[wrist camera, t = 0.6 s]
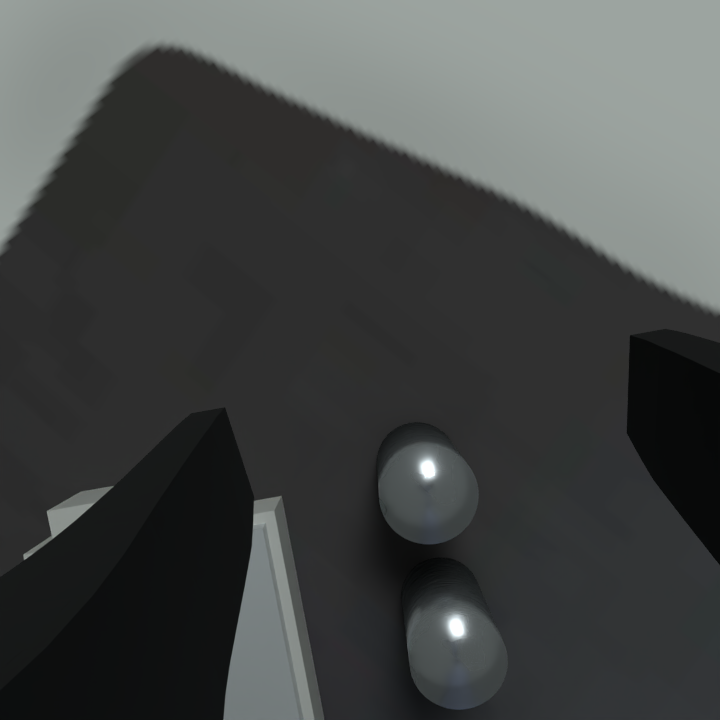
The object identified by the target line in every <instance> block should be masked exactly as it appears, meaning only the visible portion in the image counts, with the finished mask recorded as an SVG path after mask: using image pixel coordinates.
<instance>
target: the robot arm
mask: <svg viewBox="0 0 720 720" xmlns="http://www.w3.org/2000/svg"><path fill="white" fill-rule="evenodd" d="M627 434H628V436H629V438H630V440H631V441H632V443H633V445H634V447H635V449H636V451H637V452H638V454H639V456H640V458H641V460H642V461H643V463H644V465H645V466H646V468H647V470H648V472H649V473H650V475H651V477H652V478H653V480H654V481H655V482H656V484H657V485H658V486H659V488H660V489H661V490H662V492H663V493H664V494H665V496H666V497H667V498H668V499H669V501H670V502H671V503H672V505H673V506H674V507H675V509H676V510H677V511H678V512H679V514H680V515H681V516H682V518H683V519H684V520H685V521H686V523H687V524H688V525H689V526H690V528H691V529H692V530H693V532H694V533H695V534H696V535H697V537H698V538H699V539H700V540H701V542H702V543H703V544H704V546H705V547H706V548H707V549H708V551H709V552H710V553H711V554H712V556H713V557H714V558H715V560H716V561H717V562H718V563H719V565H720V343H718V342H714V341H711V340H708V339H704V338H701V337H697V336H694V335H690V334H686V333H682V332H678V331H673V330H668V329H663V330H657V331H652V332H646V333H641V334H635V335H630V353H629V383H628V413H627ZM253 515H254V495H253V492H252V489H251V486H250V483H249V480H248V477H247V474H246V471H245V468H244V465H243V462H242V458H241V455H240V452H239V449H238V446H237V443H236V440H235V437H234V434H233V431H232V428H231V425H230V422H229V418H228V415H227V412H226V409H225V408H219V409H214V410H208V411H202V412H197V413H192V414H190V415H189V416H188V417H187V418H185V419H184V420H183V421H182V422H181V423H180V424H178V425H177V426H176V427H175V428H174V429H173V430H172V431H171V432H170V433H169V434H168V435H167V436H166V437H165V438H164V439H163V440H162V441H161V442H160V443H159V444H158V445H157V446H156V447H155V448H154V449H153V450H152V451H151V452H149V453H148V454H147V455H146V456H145V457H144V458H143V459H142V460H141V461H140V462H139V463H138V464H137V465H136V466H135V467H134V468H133V469H132V470H131V471H130V472H129V473H128V474H127V475H126V476H125V477H124V478H123V479H121V480H120V481H119V482H118V483H117V484H116V485H115V486H114V487H113V488H111V489H110V490H109V491H108V492H107V493H106V494H105V495H104V496H102V497H101V498H100V499H99V500H98V501H97V502H96V503H95V504H93V505H92V506H91V507H90V508H89V509H88V510H87V511H86V512H84V513H83V514H82V515H81V516H80V517H79V518H78V519H77V520H75V521H74V522H73V523H72V524H70V525H69V526H68V527H67V528H66V529H64V530H63V531H62V532H61V533H59V534H58V535H57V536H56V537H54V538H53V539H52V540H51V541H49V542H48V543H47V544H45V545H44V546H43V547H41V548H40V549H39V550H37V551H36V552H35V553H33V554H32V555H31V556H29V557H28V558H27V559H25V560H24V561H23V562H21V563H20V564H19V565H17V566H16V567H14V568H13V569H11V570H10V571H9V572H7V573H6V574H4V575H3V576H1V577H0V720H223V719H224V707H225V695H226V688H227V681H228V674H229V667H230V661H231V656H232V651H233V645H234V640H235V635H236V630H237V624H238V619H239V614H240V609H241V603H242V598H243V593H244V588H245V582H246V577H247V571H248V566H249V560H250V555H251V549H252V536H253Z"/></svg>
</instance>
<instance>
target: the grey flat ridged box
mask: <svg viewBox="0 0 720 720" xmlns="http://www.w3.org/2000/svg"><path fill="white" fill-rule="evenodd" d="M113 487H114V486H111V487H105V488H99V489H94V490H88V491H82V492H79V493H78V494H76V495H74V496H72V497H71V498H69V499H67V500H66V501H64V502H62V503H60V504H59V505H57V506H55V507H53V508H52V509H50V510H48V511H47V515H48V519H49V524H50V529H51V533H52V537H49V538H48V539H46V540H45V541H43V542H42V543H40V544H39V545H37V546H36V547H34V548H33V549H31V550H30V551H28V552H27V553H25V554H24V555H23V556H24V560H25V559H27V558H28V557H29V556H31V555H32V554H33V553H35V552H36V551H37V550H39V549H40V548H41V547H43V546H44V545H45V544H47V543H48V542H49V541H51V540H52V539H53V538H54V537H56V536H57V535H58V534H59V533H61V532H62V531H63V530H64V529H66V528H67V527H68V526H69V525H70V524H72V523H73V522H74V521H75V520H77V519H78V518H79V517H80V516H81V515H82V514H83V513H84V512H86V511H87V510H88V509H89V508H90V507H91V506H92V505H93V504H95V503H96V502H97V501H98V500H99V499H100V498H101V497H102V496H104V495H105V494H106V493H107V492H108V491H109V490H110V489H111V488H113ZM223 720H324V714H323V709H322V704H321V699H320V693H319V688H318V683H317V678H316V673H315V667H314V662H313V657H312V652H311V646H310V641H309V636H308V631H307V626H306V620H305V615H304V610H303V605H302V600H301V594H300V589H299V584H298V579H297V573H296V568H295V563H294V558H293V553H292V547H291V542H290V537H289V532H288V527H287V521H286V516H285V511H284V506H283V500H282V496H279V497H273V498H268V499H262V500H256V501H254V515H253V536H252V549H251V555H250V560H249V566H248V571H247V577H246V582H245V588H244V593H243V598H242V603H241V609H240V614H239V619H238V624H237V630H236V635H235V640H234V645H233V651H232V656H231V661H230V667H229V674H228V681H227V688H226V695H225V707H224V719H223Z"/></svg>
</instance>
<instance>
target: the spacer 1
mask: <svg viewBox="0 0 720 720" xmlns="http://www.w3.org/2000/svg"><path fill="white" fill-rule="evenodd" d="M377 473H378V489H379V502H380V507H381V511H382V513H383V516H384V518H385V519H386V521H387V523H388V524H389V525H390V527H391V528H392V529H393V530H394V531H395V532H396V533H398V534H399V535H400V536H402V537H403V538H405V539H407V540H409V541H412V542H415V543H420V544H438V543H442V542H445V541H448V540H450V539H452V538H454V537H456V536H457V535H459V534H460V533H461V532H462V531H463V530H464V529H466V527H467V526H468V525H469V524H470V522H471V520H472V519H473V517H474V515H475V513H476V509H477V506H478V500H479V492H478V485H477V481H476V478H475V476H474V474H473V472H472V470H471V468H470V467H469V466H468V464H467V463H466V461H465V460H464V459H463V457H462V456H461V454H460V453H459V452H458V450H457V449H456V448H455V446H454V445H453V443H452V442H451V441H450V439H449V438H448V437H447V436H446V434H445V433H444V432H442V431H441V430H440V429H438V428H436V427H434V426H432V425H430V424H426V423H418V422H414V423H408V424H404V425H402V426H399V427H397V428H396V429H394V430H393V431H391V432H390V433H389V434H388V435H387V436H386V438H385V439H384V440H383V442H382V444H381V446H380V448H379V451H378V455H377Z"/></svg>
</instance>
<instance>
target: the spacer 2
mask: <svg viewBox="0 0 720 720" xmlns="http://www.w3.org/2000/svg"><path fill="white" fill-rule="evenodd" d="M401 599H402V607H403V615H404V623H405V631H406V639H407V647H408V656H409V664H410V671H411V675H412V678H413V681H414V683H415V685H416V686H417V688H418V689H419V691H420V692H421V693H422V694H423V695H424V696H425V697H426V698H427V699H429V700H430V701H431V702H433V703H435V704H437V705H439V706H441V707H444V708H448V709H456V710H462V709H469V708H473V707H476V706H479V705H481V704H483V703H485V702H486V701H487V700H489V699H490V698H491V697H492V696H494V695H495V693H496V692H497V691H498V690H499V688H500V687H501V685H502V684H503V681H504V679H505V676H506V673H507V667H508V657H507V651H506V647H505V645H504V642H503V640H502V638H501V635H500V633H499V631H498V628H497V626H496V624H495V621H494V619H493V617H492V614H491V612H490V610H489V607H488V605H487V603H486V600H485V598H484V596H483V594H482V591H481V589H480V587H479V584H478V582H477V580H476V578H475V576H474V575H473V573H472V572H471V571H470V570H469V569H468V568H467V567H466V566H465V565H463V564H462V563H460V562H458V561H456V560H453V559H449V558H433V559H429V560H426V561H424V562H422V563H420V564H418V565H417V566H416V567H415V568H413V569H412V570H411V572H410V573H409V574H408V576H407V577H406V579H405V581H404V584H403V587H402V593H401Z"/></svg>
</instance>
